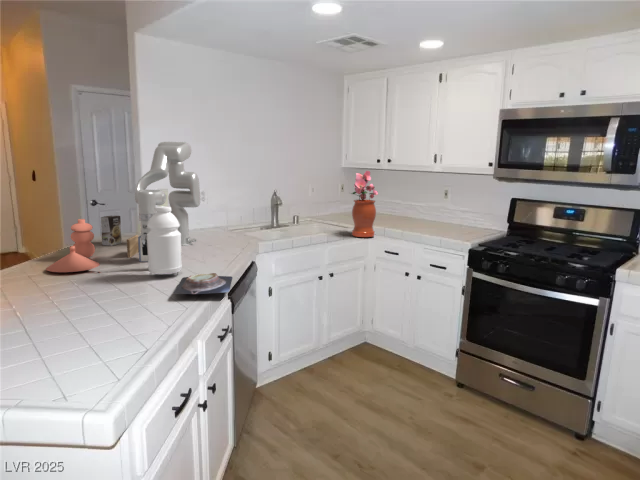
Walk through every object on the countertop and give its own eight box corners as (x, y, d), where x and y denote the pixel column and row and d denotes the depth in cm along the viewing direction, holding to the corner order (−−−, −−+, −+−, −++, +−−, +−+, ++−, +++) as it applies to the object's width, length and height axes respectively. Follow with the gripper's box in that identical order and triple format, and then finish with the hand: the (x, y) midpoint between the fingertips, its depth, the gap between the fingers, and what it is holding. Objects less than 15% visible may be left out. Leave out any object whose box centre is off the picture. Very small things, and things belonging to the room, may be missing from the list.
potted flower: (352, 238, 282) (355, 170, 274) (344, 232, 307) (347, 169, 299) (380, 238, 285) (383, 170, 277) (370, 232, 310) (373, 170, 302)
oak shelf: (165, 251, 226) (164, 235, 224) (157, 257, 211) (157, 239, 210) (136, 251, 224) (135, 235, 222) (127, 257, 210) (126, 239, 208)
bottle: (188, 268, 191) (186, 206, 186) (168, 275, 178) (165, 209, 173) (162, 265, 195) (160, 204, 190) (141, 272, 182) (137, 207, 177)
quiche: (229, 293, 157) (228, 282, 156) (172, 294, 155) (171, 284, 154) (232, 276, 177) (232, 267, 177) (182, 277, 175) (182, 268, 174)
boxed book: (159, 259, 208) (158, 235, 206) (156, 261, 203) (155, 237, 201) (142, 259, 207) (141, 235, 205) (139, 261, 202) (138, 236, 200)
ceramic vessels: (94, 270, 183) (91, 227, 180) (38, 273, 177) (34, 228, 174) (109, 254, 216) (107, 217, 213) (62, 256, 210) (59, 218, 207)
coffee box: (111, 245, 239) (110, 217, 236) (101, 245, 240) (99, 216, 237) (122, 243, 247) (120, 215, 245) (112, 242, 249) (111, 215, 246)
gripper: (150, 219, 193) (152, 256, 196) (160, 215, 210) (161, 249, 213) (133, 219, 192) (135, 256, 195) (144, 215, 209) (146, 249, 212)
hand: (149, 253), depth 204 cm, fingers open, 8 cm apart
